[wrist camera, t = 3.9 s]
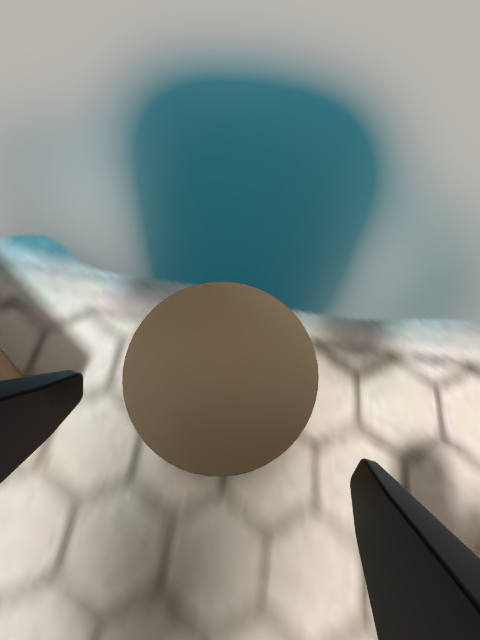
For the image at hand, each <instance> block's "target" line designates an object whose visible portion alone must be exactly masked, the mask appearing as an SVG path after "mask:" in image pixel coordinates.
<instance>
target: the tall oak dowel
mask: <svg viewBox="0 0 480 640" xmlns="http://www.w3.org/2000/svg"><path fill="white" fill-rule="evenodd" d="M122 384H123V394H124V400H125V404H126V408H127V411H128V414H129V416H130V419H131V421H132V423H133V425H134V427H135V429H136V430H137V432H138V434H139V435H140V436H141V438H142V439H143V440H144V442H145V443H146V444H147V445H148V446H149V447H150V448H151V449H152V450H153V451H154V452H155V453H156V454H157V455H159V456H160V457H161V458H163V459H164V460H166V461H167V462H168V463H170V464H172V465H174V466H176V467H178V468H180V469H183V470H186V471H189V472H192V473H195V474H200V475H206V476H231V475H239V474H242V473H246V472H250V471H253V470H255V469H257V468H260V467H262V466H264V465H266V464H268V463H269V462H271V461H273V460H274V459H276V458H277V457H279V456H280V455H281V454H282V453H283V452H285V451H286V450H287V449H288V448H289V447H290V446H291V445H292V444H293V442H294V441H295V440H296V439H297V438H298V437H299V435H300V434H301V432H302V431H303V429H304V428H305V426H306V424H307V422H308V420H309V418H310V416H311V413H312V410H313V407H314V404H315V401H316V395H317V390H318V365H317V360H316V355H315V351H314V348H313V345H312V342H311V340H310V338H309V335H308V333H307V331H306V330H305V328H304V326H303V325H302V323H301V322H300V320H299V319H298V318H297V317H296V316H295V314H294V313H293V312H292V311H291V310H290V309H289V308H288V307H287V306H286V305H284V304H283V303H282V302H281V301H279V300H278V299H277V298H275V297H274V296H272V295H270V294H268V293H266V292H265V291H262V290H260V289H258V288H255V287H252V286H249V285H245V284H240V283H234V282H209V283H204V284H198V285H195V286H192V287H189V288H186V289H184V290H181V291H179V292H177V293H175V294H173V295H172V296H170V297H168V298H167V299H165V300H164V301H163V302H161V303H160V304H159V305H157V306H156V307H155V308H154V309H153V310H152V311H151V312H150V313H149V314H148V315H147V316H146V318H145V319H144V320H143V321H142V323H141V324H140V326H139V327H138V329H137V330H136V332H135V334H134V336H133V338H132V340H131V342H130V344H129V347H128V350H127V353H126V356H125V361H124V367H123V382H122Z"/></svg>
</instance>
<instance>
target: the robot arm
mask: <svg viewBox="0 0 480 640" xmlns="http://www.w3.org/2000/svg"><path fill="white" fill-rule="evenodd" d="M82 396H83V375H82V374H81V373H79V372H76V371H72V370H66V371H60V372H53V373H47V374H40V375H34V376H27V377H21V378H14V379H8V380H1V381H0V483H1V482H2V481H3V480H5V479H6V478H7V477H8V476H9V475H10V474H11V473H12V472H13V471H14V470H15V469H16V468H17V467H18V466H19V465H20V464H21V463H22V462H24V461H25V460H26V459H27V458H28V457H29V456H30V455H31V454H32V453H33V452H34V451H35V450H36V449H37V448H38V447H39V446H40V445H41V444H43V443H44V442H45V441H46V440H47V439H48V438H49V437H50V436H51V434H52V433H53V432H54V431H55V430H56V429H57V428H58V427H59V425H60V424H61V423H62V422H63V421H64V420H65V418H66V417H67V416H68V415H69V414H70V413H71V411H72V410H73V409H74V408H75V407H76V406H77V405H78V403H79V402H80V401H81V399H82ZM350 488H351V497H352V507H353V516H354V525H355V533H356V538H357V544H358V548H359V553H360V557H361V562H362V567H363V571H364V576H365V580H366V585H367V590H368V594H369V599H370V604H371V608H372V613H373V617H374V622H375V627H376V631H377V636H378V640H480V559H479V558H478V557H477V556H476V555H475V554H474V553H473V552H472V551H471V550H470V549H469V548H468V547H467V546H466V545H464V544H463V543H462V542H461V541H460V540H459V539H458V538H457V537H456V536H455V535H454V534H453V533H452V532H451V531H449V530H448V529H447V528H446V527H445V526H444V525H443V524H442V523H441V522H440V521H439V520H438V519H437V518H436V517H435V516H433V515H432V514H431V513H430V512H429V511H428V510H427V509H426V508H425V507H424V506H423V505H422V504H421V503H420V502H418V501H417V500H416V499H415V498H414V497H413V496H412V495H411V494H410V493H409V492H408V491H407V490H406V489H405V488H403V487H402V486H401V485H400V484H399V483H398V482H397V481H396V480H395V479H394V478H393V477H392V476H391V475H390V474H388V473H387V472H386V471H385V470H384V469H383V468H382V467H381V466H380V465H379V464H378V463H376V462H375V461H371V460H368V459H362V460H361V461H360V462H359V464H358V466H357V467H356V469H355V471H354V473H353V475H352V477H351V481H350Z"/></svg>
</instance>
